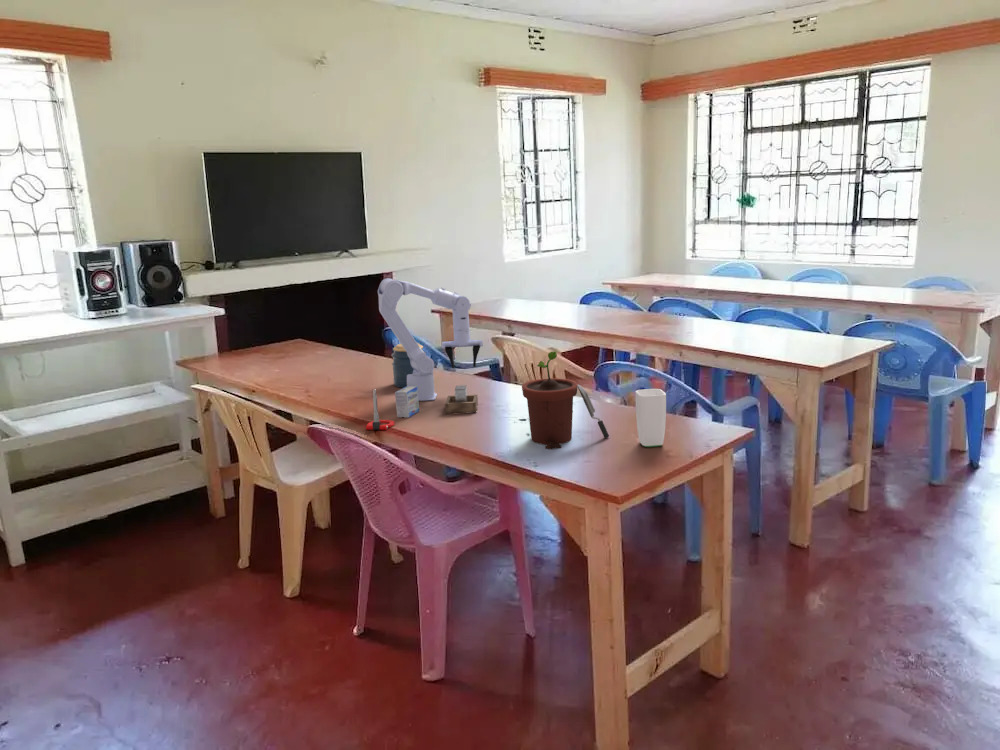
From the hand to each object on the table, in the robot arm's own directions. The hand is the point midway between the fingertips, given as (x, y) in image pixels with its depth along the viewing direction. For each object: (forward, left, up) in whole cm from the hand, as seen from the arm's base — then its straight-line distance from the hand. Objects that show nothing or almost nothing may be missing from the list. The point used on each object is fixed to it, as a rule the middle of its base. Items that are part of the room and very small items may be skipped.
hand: (463, 366), depth 280 cm
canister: (-22, +16, -10) cm, 29 cm away
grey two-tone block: (0, -22, -9) cm, 24 cm away
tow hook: (-24, -38, -10) cm, 46 cm away
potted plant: (+32, -59, -10) cm, 67 cm away
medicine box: (-17, -26, -10) cm, 33 cm away
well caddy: (+1, -23, -9) cm, 24 cm away
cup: (+56, -66, -10) cm, 87 cm away
